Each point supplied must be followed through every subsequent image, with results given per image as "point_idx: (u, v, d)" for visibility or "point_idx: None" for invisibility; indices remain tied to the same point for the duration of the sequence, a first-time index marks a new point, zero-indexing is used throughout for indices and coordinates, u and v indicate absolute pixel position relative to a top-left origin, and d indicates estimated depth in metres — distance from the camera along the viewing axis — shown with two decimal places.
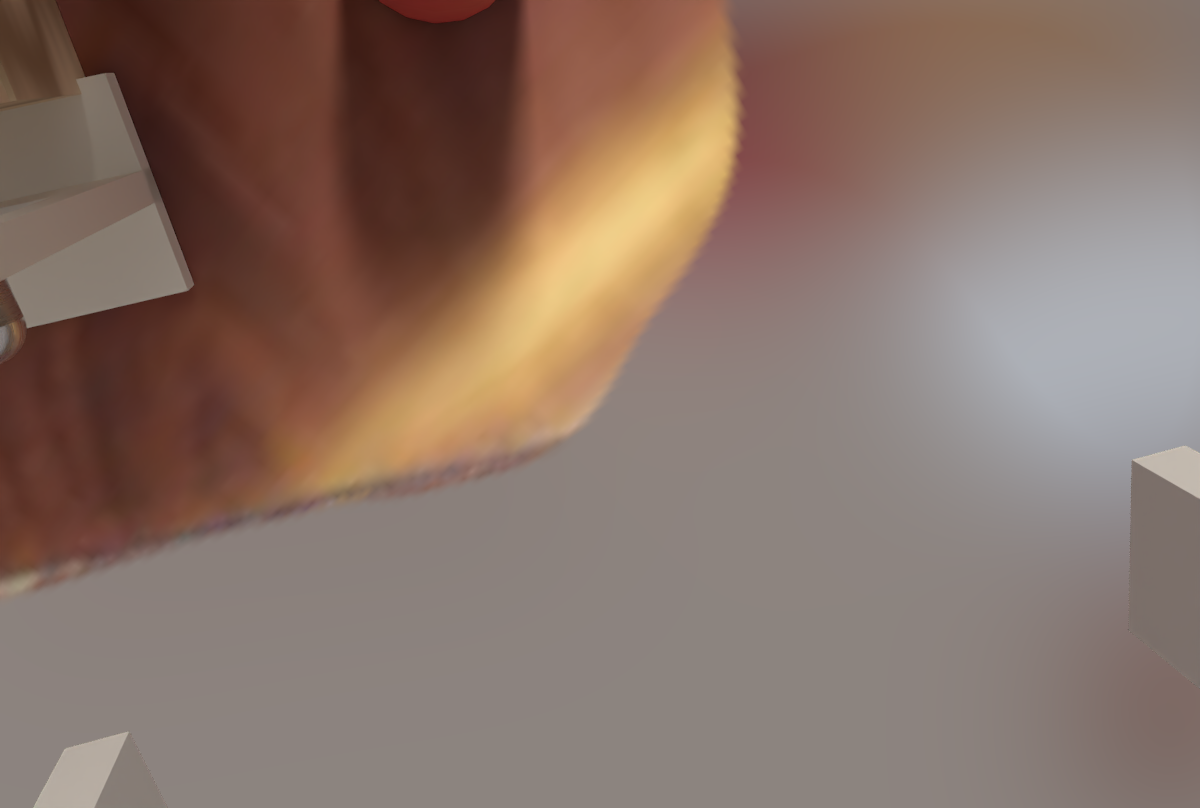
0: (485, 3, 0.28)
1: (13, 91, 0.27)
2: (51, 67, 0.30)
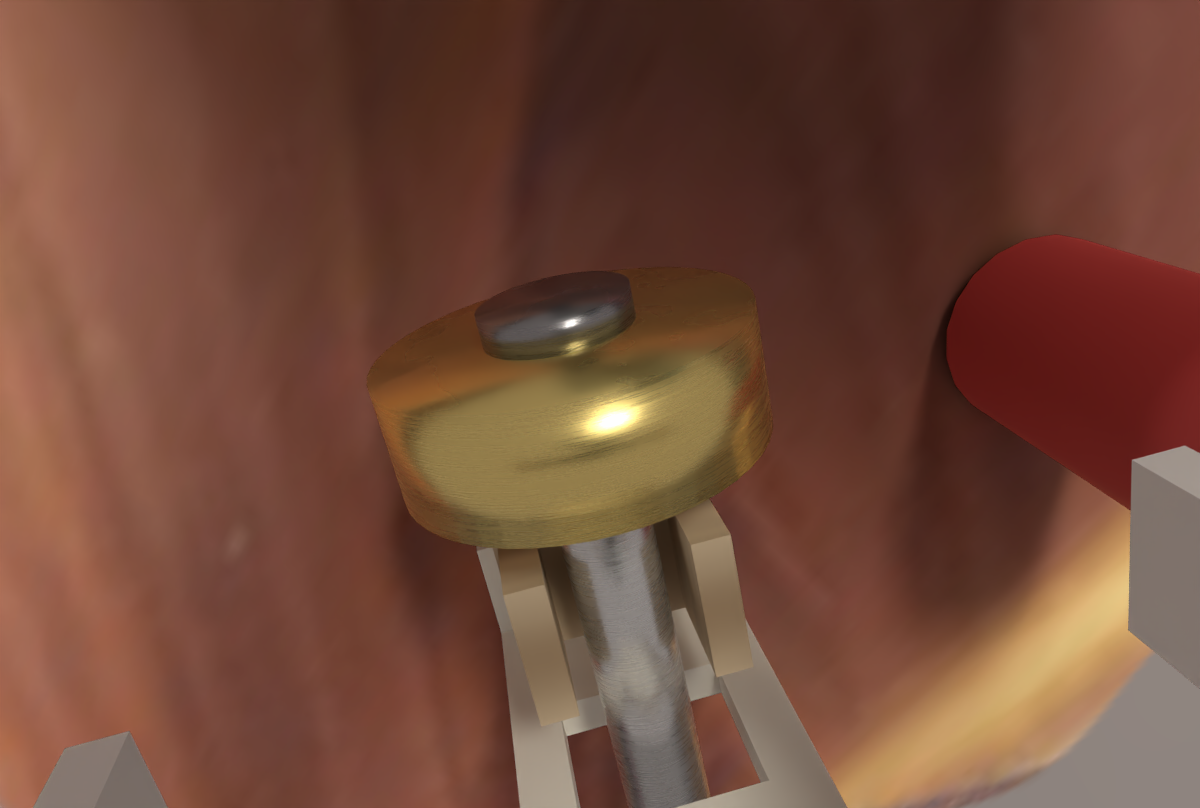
0: None
1: None
2: None
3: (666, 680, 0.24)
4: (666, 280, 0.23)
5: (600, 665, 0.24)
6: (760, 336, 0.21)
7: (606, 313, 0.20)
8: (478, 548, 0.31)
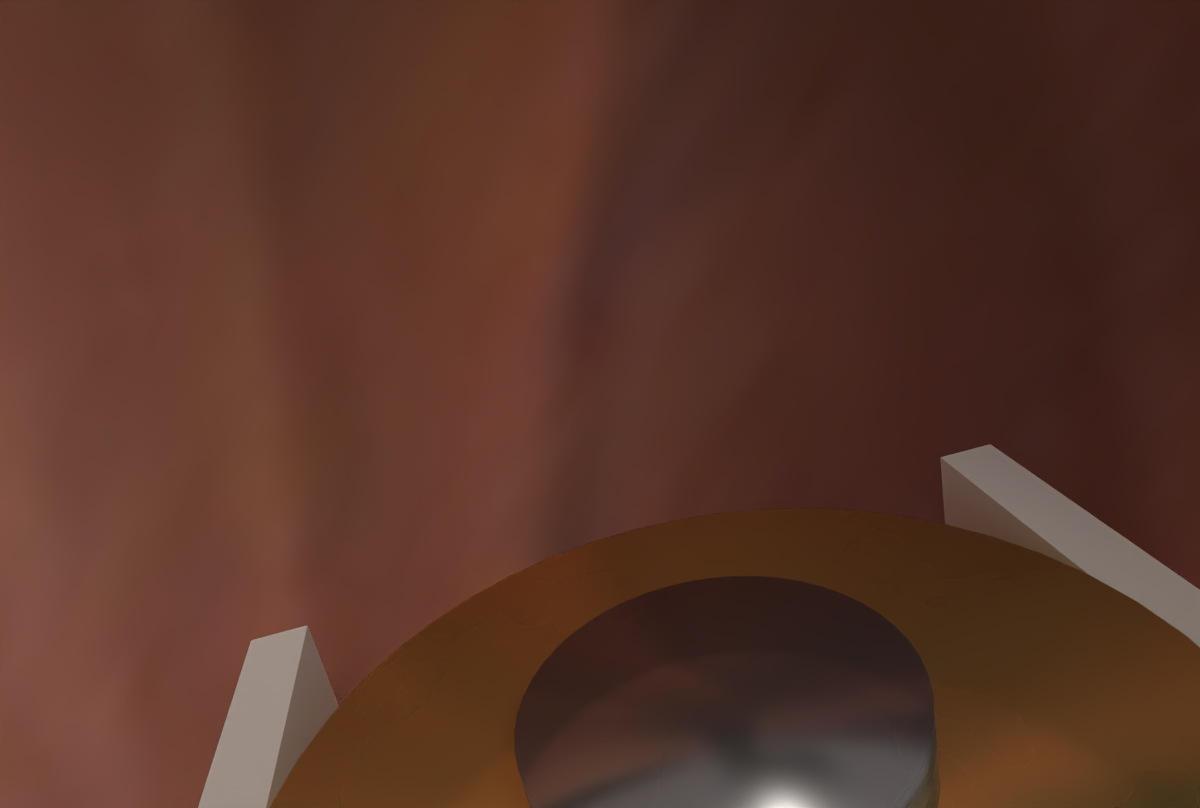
0: None
1: None
2: None
3: None
4: (939, 575, 0.10)
5: None
6: None
7: None
8: None
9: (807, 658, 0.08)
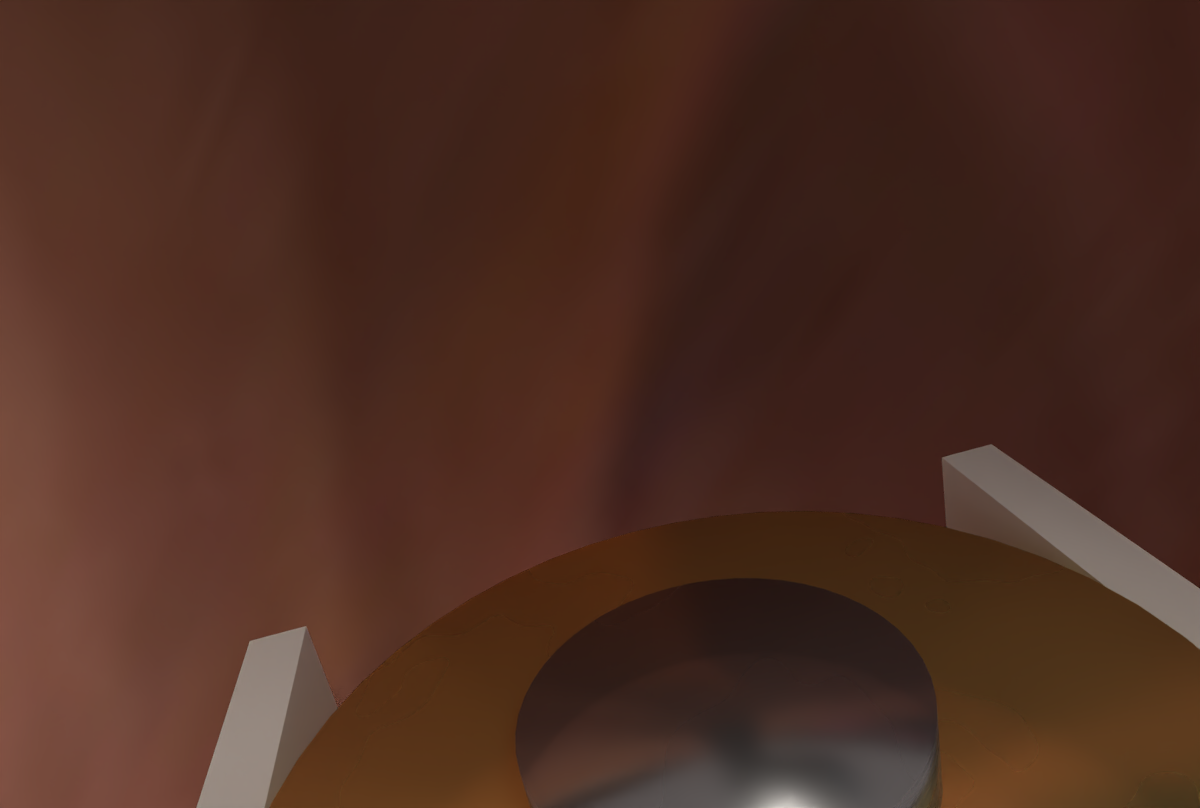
0: None
1: None
2: None
3: None
4: (940, 579, 0.10)
5: None
6: None
7: None
8: None
9: (809, 660, 0.08)
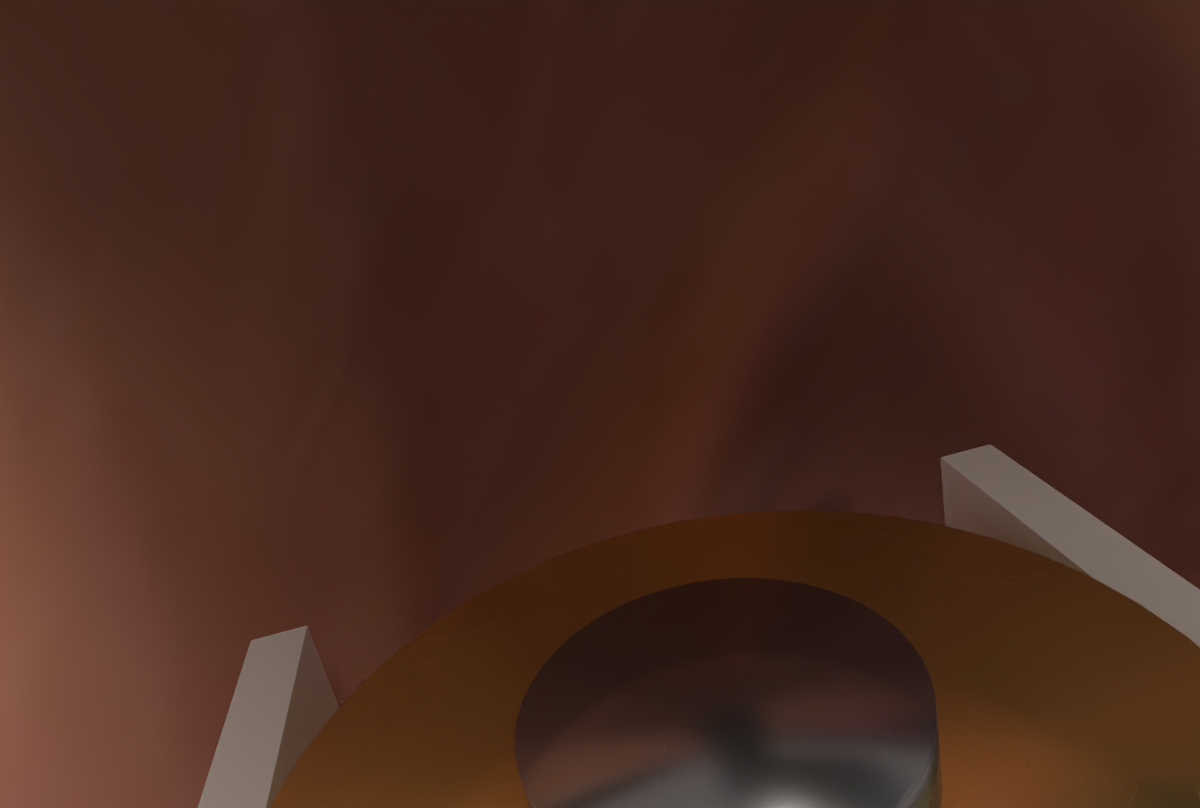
0: None
1: None
2: None
3: None
4: (940, 578, 0.10)
5: None
6: None
7: None
8: None
9: (808, 660, 0.08)
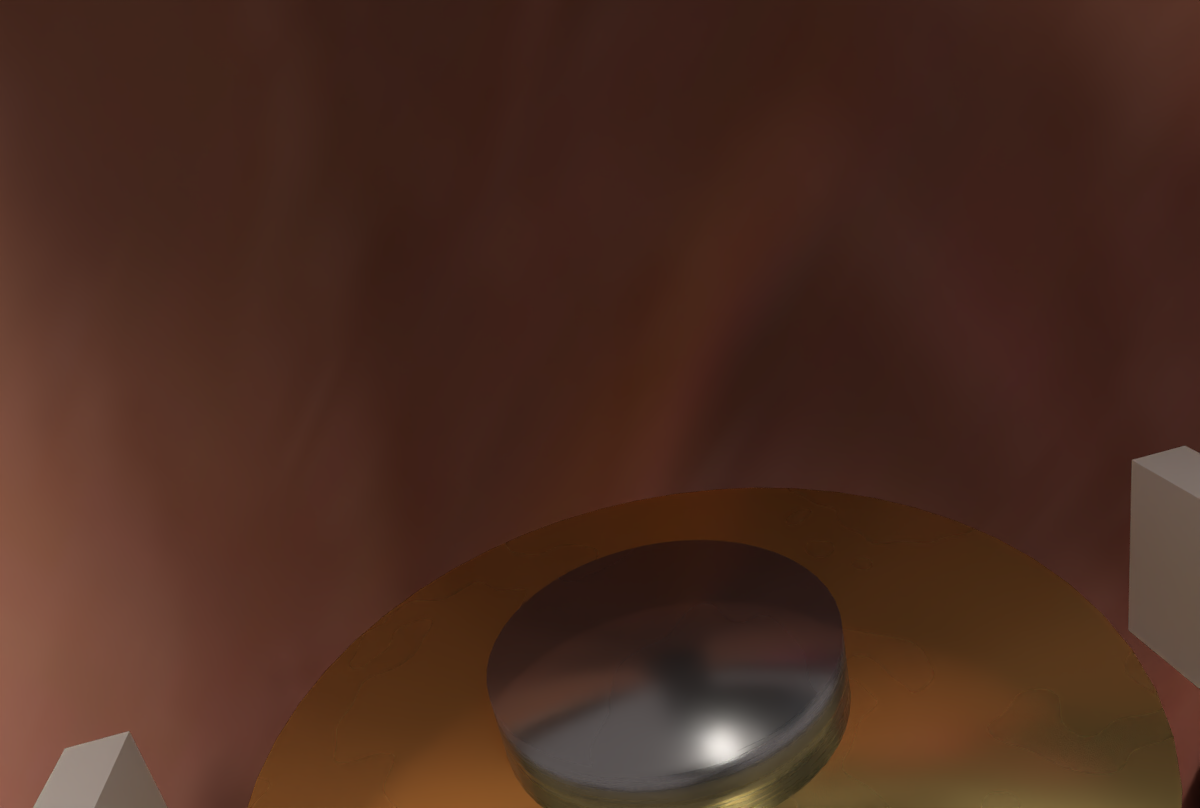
0: None
1: None
2: None
3: None
4: (866, 541, 0.12)
5: None
6: None
7: (810, 724, 0.08)
8: None
9: (739, 604, 0.10)
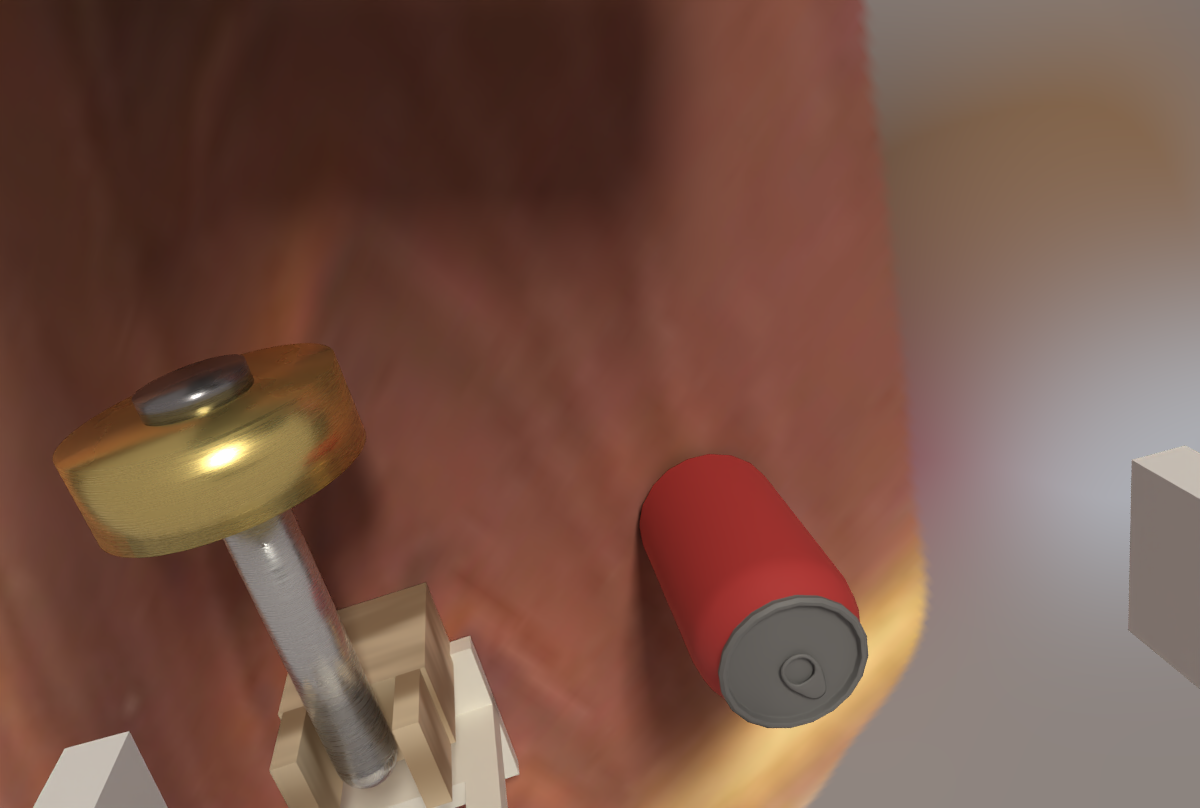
0: None
1: (453, 737, 0.38)
2: (447, 670, 0.41)
3: (322, 647, 0.33)
4: (296, 356, 0.32)
5: (272, 638, 0.33)
6: (333, 399, 0.29)
7: (211, 391, 0.28)
8: None
9: (217, 368, 0.30)
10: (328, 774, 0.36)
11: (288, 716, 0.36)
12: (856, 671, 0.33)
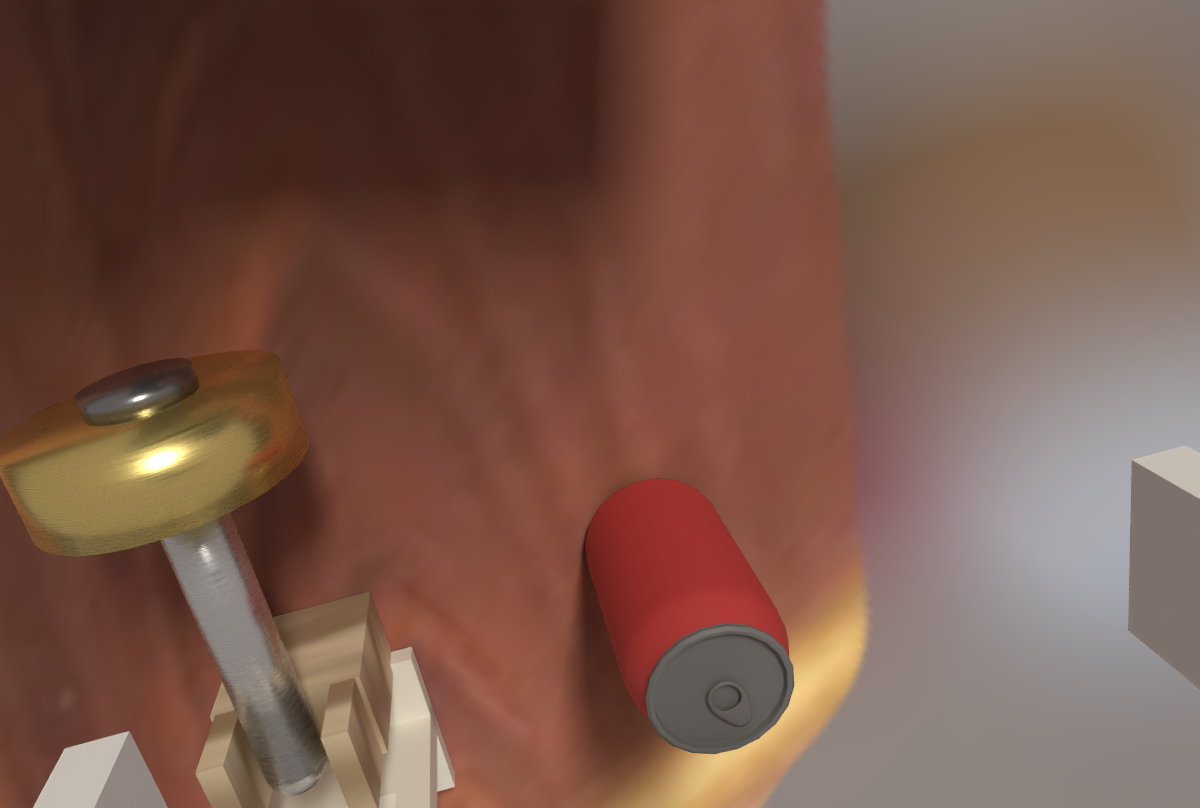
0: None
1: (386, 747, 0.38)
2: (385, 680, 0.41)
3: (255, 652, 0.33)
4: (245, 363, 0.32)
5: (205, 641, 0.33)
6: (276, 408, 0.30)
7: (153, 394, 0.29)
8: None
9: (162, 371, 0.30)
10: (257, 779, 0.37)
11: (220, 719, 0.36)
12: (782, 700, 0.34)
